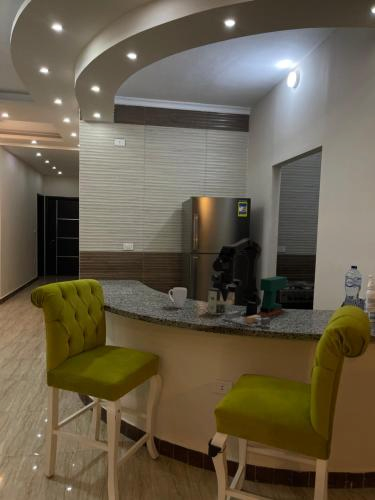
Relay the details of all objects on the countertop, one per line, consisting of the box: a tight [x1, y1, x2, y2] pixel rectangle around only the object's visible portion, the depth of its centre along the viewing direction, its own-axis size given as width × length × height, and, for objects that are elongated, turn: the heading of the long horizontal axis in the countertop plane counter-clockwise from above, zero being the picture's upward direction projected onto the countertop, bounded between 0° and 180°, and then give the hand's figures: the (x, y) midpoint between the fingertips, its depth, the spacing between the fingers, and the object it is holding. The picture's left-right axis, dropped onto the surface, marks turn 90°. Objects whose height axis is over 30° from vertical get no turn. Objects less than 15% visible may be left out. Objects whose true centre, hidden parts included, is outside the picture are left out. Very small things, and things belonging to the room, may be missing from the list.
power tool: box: [258, 275, 289, 316], centre depth 222 cm, size 32×7×20 cm, turn 141°
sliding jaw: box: [244, 314, 271, 326], centre depth 184 cm, size 9×10×3 cm
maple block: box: [220, 292, 236, 306], centre depth 187 cm, size 4×6×6 cm, turn 49°
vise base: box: [222, 310, 262, 328], centre depth 191 cm, size 10×20×4 cm, turn 44°
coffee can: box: [207, 286, 227, 316], centre depth 209 cm, size 10×10×14 cm
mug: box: [168, 286, 188, 309], centre depth 222 cm, size 12×8×11 cm
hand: (227, 300), depth 187 cm, fingers closed on maple block, 4 cm apart
